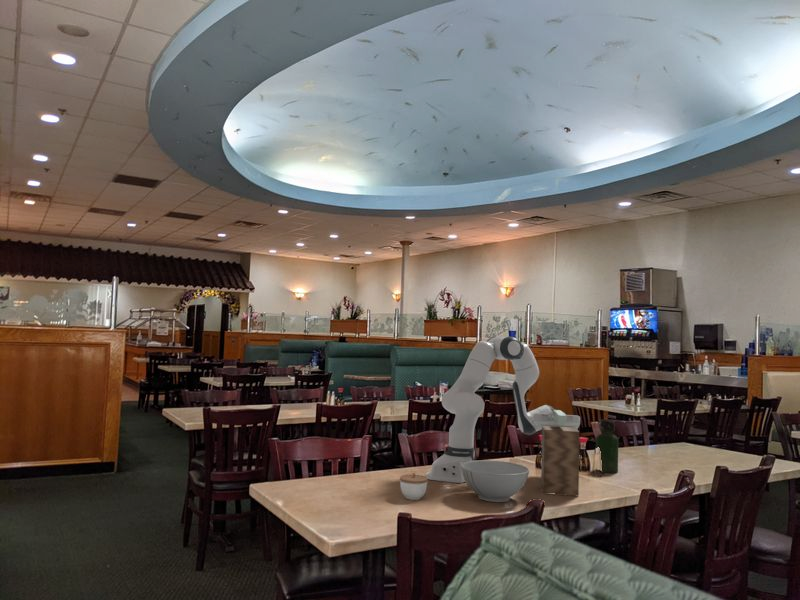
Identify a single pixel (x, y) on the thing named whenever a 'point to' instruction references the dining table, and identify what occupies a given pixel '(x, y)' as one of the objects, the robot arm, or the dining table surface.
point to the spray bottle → (608, 446)
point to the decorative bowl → (494, 479)
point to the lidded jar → (413, 486)
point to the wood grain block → (560, 460)
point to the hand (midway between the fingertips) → (558, 413)
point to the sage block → (560, 417)
